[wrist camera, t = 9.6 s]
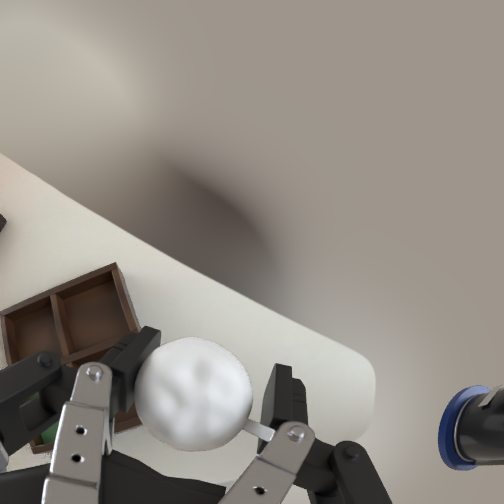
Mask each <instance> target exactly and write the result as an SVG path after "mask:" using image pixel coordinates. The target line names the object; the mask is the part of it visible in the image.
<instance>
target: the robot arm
mask: <svg viewBox="0 0 504 504" xmlns="http://www.w3.org/2000/svg"><path fill="white" fill-rule="evenodd" d="M160 340H161V331H160V330H157V329H154V328H151V327H148V326H144V327H143V328H142V330H141V331H140V332H139V333H138V334H136V333H134V332H131V333H128V334H126V335H123V336H122V337H121V338H120V339H119V341H118V342H117V343H116V344H115V345H114V346H113V347H112V348H111V349H110V350H109V351H108V352H107V353H106V354H105V355H104V356H103V357H102V358H101V359H100V360H99V361H98V362H87V363H85V364H83V365H81V366H80V368H73V367H68V366H64V365H62V364H61V359H60V357H59V356H58V355H57V354H56V353H54V352H51V351H39V352H36V353H34V354H32V355H30V356H28V357H26V358H24V359H22V360H20V361H18V362H16V363H14V364H12V365H10V366H8V367H6V368H5V369H3V370H1V371H0V504H281V502H282V501H283V499H284V498H285V496H286V494H287V493H288V491H289V489H290V487H291V486H292V484H293V485H296V486H299V487H301V488H304V489H307V493H308V496H309V500H310V503H311V504H392V501H391V500H390V498H389V495H388V493H387V491H386V489H385V487H384V486H383V483H382V481H381V479H380V477H379V475H378V473H377V471H376V470H375V468H374V465H373V464H372V461H371V460H370V458H369V456H368V454H367V452H366V450H365V449H364V448H363V447H362V446H361V445H360V444H358V443H356V442H352V441H342V442H339V443H338V444H336V446H332V445H330V444H327V443H324V442H322V441H320V440H318V439H317V438H315V434H314V432H313V430H312V429H311V428H310V427H309V426H308V415H307V403H306V389H305V386H304V384H303V383H302V381H301V380H300V379H295V378H292V367H291V366H286V365H282V364H277V363H275V365H274V367H273V370H272V373H271V376H270V379H269V381H268V384H267V387H266V390H265V393H264V398H263V404H262V413H261V422H260V424H262V425H264V426H267V427H269V428H272V429H274V430H276V433H275V434H274V436H273V437H272V439H271V440H270V441H269V442H267V441H265V440H263V439H261V438H259V440H258V448H257V454H260V455H259V456H256V457H255V458H254V460H253V461H252V462H251V463H250V465H249V466H248V467H247V469H246V470H245V471H244V472H243V474H242V475H241V476H240V477H239V479H238V480H237V481H236V482H235V484H234V485H233V486H232V487H231V489H230V490H229V491H228V492H227V493H226V494H225V490H226V487H224V486H220V485H216V484H212V483H208V482H204V481H200V480H194V479H183V478H174V477H167V476H164V475H162V474H160V473H158V472H157V471H155V470H153V469H152V468H150V467H148V466H147V465H145V464H144V463H142V462H141V461H139V460H137V459H134V458H132V457H129V456H127V455H124V454H122V453H120V452H118V451H115V450H113V437H114V422H115V419H114V416H115V415H116V413H117V412H118V411H121V412H123V413H125V414H126V413H127V412H128V410H129V409H130V407H131V405H132V404H133V402H134V401H135V399H134V387H135V381H136V377H137V374H138V372H139V370H140V368H141V366H142V364H143V363H144V361H145V360H146V358H147V357H148V356H149V355H150V354H151V353H152V352H153V351H154V350H155V349H157V348H158V347H160ZM501 386H502V385H500V386H496V387H494V388H493V389H492V390H491V391H490V392H487V393H482V394H477V395H473V396H471V397H470V398H468V399H467V400H466V401H465V402H464V404H463V405H462V406H461V408H460V410H459V411H458V413H457V416H456V419H455V422H454V426H453V433H452V441H453V447H454V450H455V453H456V454H457V456H458V457H459V458H460V459H461V460H463V461H470V462H471V464H472V465H504V388H501V389H500V387H501ZM35 393H37V394H38V395H37V396H36V397H34V398H32V399H31V400H29V401H28V402H26V403H24V404H23V405H21V403H22V402H23V401H24V400H25V399H27V398H29V397H30V396H32V395H34V394H35ZM20 405H21V406H20ZM59 420H60V422H59V427H58V431H57V436H56V440H55V445H54V450H53V455H52V461H51V463H48V464H44V465H40V466H35V467H30V468H26V469H21V470H15V471H10V472H6V467H7V465H8V462H9V456H10V455H12V454H13V453H15V452H16V451H17V450H19V449H20V448H22V447H23V446H25V445H26V444H27V443H29V442H30V441H32V440H33V439H34V438H36V437H37V436H39V435H40V434H41V433H43V432H44V431H45V430H47V429H48V428H50V427H51V426H52V425H54V424H55V423H57V422H58V421H59Z"/></svg>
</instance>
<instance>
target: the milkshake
mask: <svg viewBox="0 0 504 504" xmlns="http://www.w3.org/2000/svg"><path fill="white" fill-rule="evenodd" d="M134 399H135V407H136V411H137V414H138V416H139V418H140V420H141V422H142V424H143V425H144V426H145V428H146V429H147V430H148V431H149V432H150V433H151V434H152V435H154V436H155V437H156V438H157V439H159V440H160V441H162V442H163V443H165V444H167V445H168V446H170V447H172V448H175V449H178V450H182V451H206V450H212V449H216V448H218V447H221V446H223V445H225V444H226V443H228V442H229V441H231V440H232V439H233V438H234V437H235V436H236V435H237V434H238V433H239V432H240V431H241V429H243V430H245V431H247V432H249V433H251V434H253V435H255V436H257V437H259V438H261V439H263V440H265V441H267V442H269V441H270V440H271V439H272V437H273V436H274V434H275V433H276V430H274V429H272V428H269V427H267V426H264V425H262V424H260V423H257V422H255V421H253V420H250V419H248V417H249V415H250V412H251V408H252V402H253V392H252V386H251V382H250V379H249V377H248V374H247V372H246V370H245V369H244V367H243V365H242V364H241V362H240V361H239V360H238V359H237V358H236V357H235V356H234V355H233V354H232V353H230V352H229V351H228V350H226V349H225V348H223V347H222V346H220V345H218V344H216V343H214V342H212V341H209V340H206V339H202V338H196V337H186V338H181V339H177V340H174V341H172V342H169V343H167V344H164V345H162V346H160V347H158V348H157V349H155V350H154V351H153V352H152V353H151V354H150V355H149V356H148V357H147V358H146V360H145V361H144V363H143V364H142V366H141V368H140V370H139V372H138V374H137V377H136V381H135V387H134Z"/></svg>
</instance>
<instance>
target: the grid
mask: <svg viewBox="0 0 504 504" xmlns="http://www.w3.org/2000/svg"><path fill="white" fill-rule="evenodd" d="M0 320H1V328H2V336H3V342H4V349H5V354H6V360H7V365H8V366H10V365H12V364H14V363H16V362H18V361H20V360H22V359H24V358H26V357H28V356H30V355H32V354H34V353H36V352H39V351H51V352H54V353H56V354H57V355H58V356H59V357H60V359H61V364H62V365H64V366H68V367H73V368H80V366H81V365H83V364H85V363H87V362H98V361H99V360H100V359H101V358H102V357H103V356H104V355H105V354H106V353H107V352H108V351H109V350H110V349H111V348H112V347H113V346H114V345H115V344H116V343H117V342H118V341H119V339H120V338H121V337H122V336H123V335H126V334H128V333H131V332H134V333H136V334H138V333H139V332H140V331H141V327H140V324H139V322H138V319H137V316H136V313H135V311H134V308H133V305H132V302H131V299H130V296H129V293H128V290H127V287H126V284H125V280H124V277H123V274H122V272H121V270H120V269H119V267H118V265H117V263H116V262H115V263H112V264H110V265H107V266H105V267H102V268H100V269H97V270H95V271H92V272H90V273H87V274H85V275H83V276H80V277H78V278H75V279H73V280H71V281H68V282H66V283H64V284H61V285H59V286H56V287H54V288H52V289H49V290H47V291H45V292H43V293H40V294H38V295H36V296H33V297H31V298H29V299H27V300H24V301H22V302H20V303H18V304H15V305H13V306H11V307H9V308H7V309H4V310H2V311H0ZM37 395H38V394H37V393H35V394H34V395H32V396H30V397H29V398H27V399H25V400H24V401H23V402H22V403H21V405H23V404H24V403H26V402H28V401H29V400H31V399H32V398H34V397H36V396H37ZM21 405H20V406H21ZM114 419H115V422H114V435H116V434H119V433H122V432H125V431H128V430H131V429H134V428H137V427H140V426H143V424H142V422H141V420H140V418H139V416H138V414H137V411H136V407H135V401H134V402H133V404H132V405H131V407H130V409H129V410H128V412H127V413H126V414H125V413H123V412H121V411H118V412H117V413H116V415H115V416H114ZM59 422H60V420H59V421H58V422H57V423H55V424H54V425H52V426H51V427H50V428H48V429H47V430H45V431H44V432H43V433H41V434H40V435H39V436H37V437H36V438H34V439H33V440H32V441H30V442H29V443H30V446H31V449H32V452H33V454H41V453H48V452H53V450H54V445H55V440H56V436H57V431H58V427H59Z"/></svg>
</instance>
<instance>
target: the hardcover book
mask: <svg viewBox="0 0 504 504" xmlns="http://www.w3.org/2000/svg"><path fill="white" fill-rule="evenodd" d="M5 223H6V219H5V218H4V217H3V216H2V215H1V214H0V231H1V230H2V228H3V227H4V225H5Z"/></svg>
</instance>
